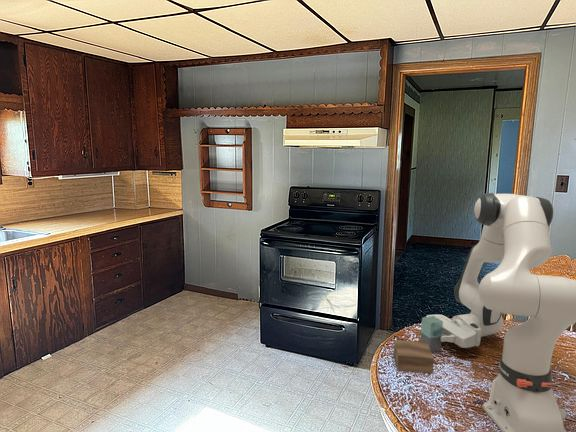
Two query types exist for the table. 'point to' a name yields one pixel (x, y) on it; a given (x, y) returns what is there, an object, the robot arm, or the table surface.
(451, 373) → the table surface
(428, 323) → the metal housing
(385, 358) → the table surface
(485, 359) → the table surface
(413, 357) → the walnut stand
